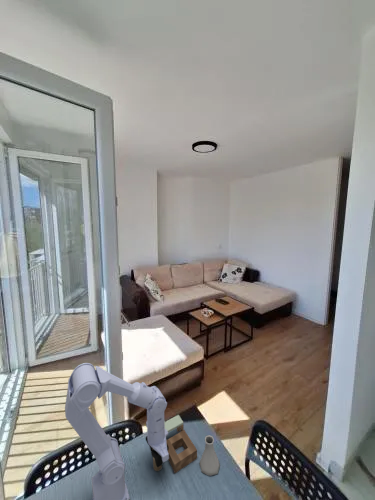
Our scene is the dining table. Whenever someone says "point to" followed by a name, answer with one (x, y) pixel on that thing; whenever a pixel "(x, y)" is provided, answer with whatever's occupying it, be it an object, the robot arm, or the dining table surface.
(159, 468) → the peg
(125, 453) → the dining table surface
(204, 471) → the flask
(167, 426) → the bench
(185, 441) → the socket
